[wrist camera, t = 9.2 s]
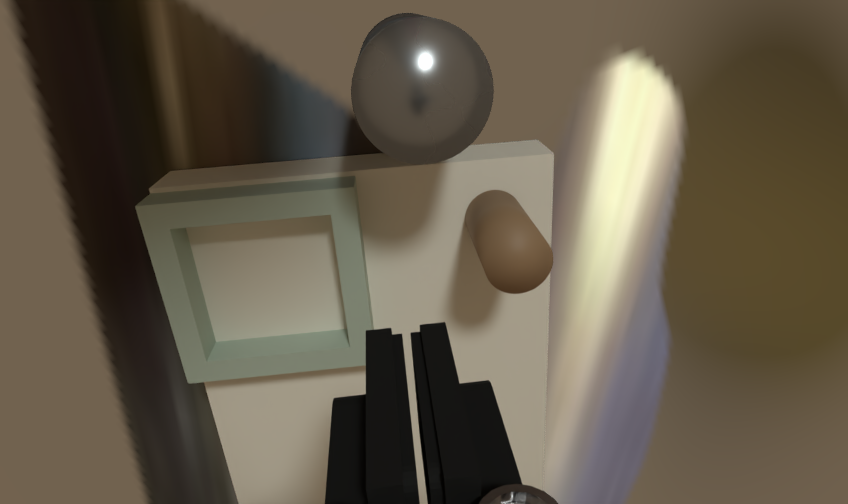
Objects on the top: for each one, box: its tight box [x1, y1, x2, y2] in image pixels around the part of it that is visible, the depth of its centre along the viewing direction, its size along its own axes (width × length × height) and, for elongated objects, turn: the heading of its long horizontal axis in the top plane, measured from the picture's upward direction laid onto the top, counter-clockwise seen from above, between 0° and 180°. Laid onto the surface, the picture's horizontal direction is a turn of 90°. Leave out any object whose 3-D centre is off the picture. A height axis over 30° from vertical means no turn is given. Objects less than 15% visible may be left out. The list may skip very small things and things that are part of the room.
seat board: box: [135, 140, 554, 504], centre depth 27 cm, size 28×18×7 cm, turn 4°
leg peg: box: [351, 13, 494, 164], centre depth 19 cm, size 4×4×8 cm
